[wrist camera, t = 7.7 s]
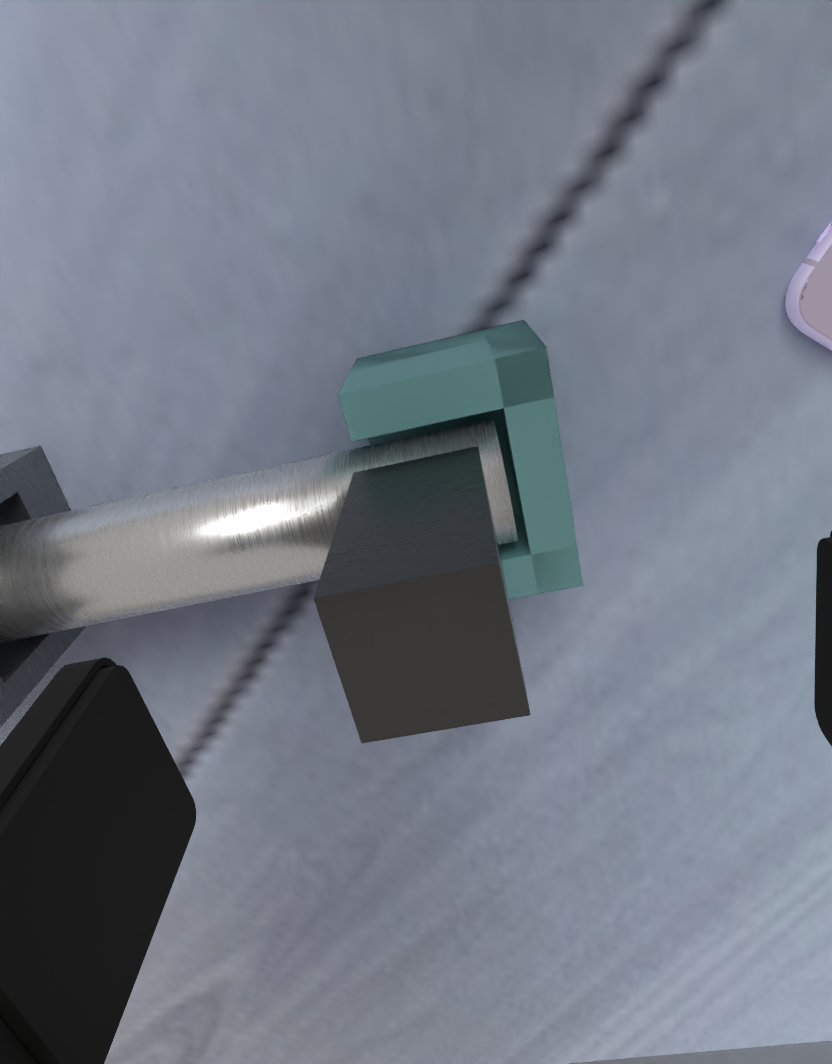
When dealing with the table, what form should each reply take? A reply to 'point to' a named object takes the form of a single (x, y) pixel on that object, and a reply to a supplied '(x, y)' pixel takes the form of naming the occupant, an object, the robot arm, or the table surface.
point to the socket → (472, 396)
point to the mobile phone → (813, 292)
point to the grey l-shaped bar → (313, 569)
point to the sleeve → (13, 496)
